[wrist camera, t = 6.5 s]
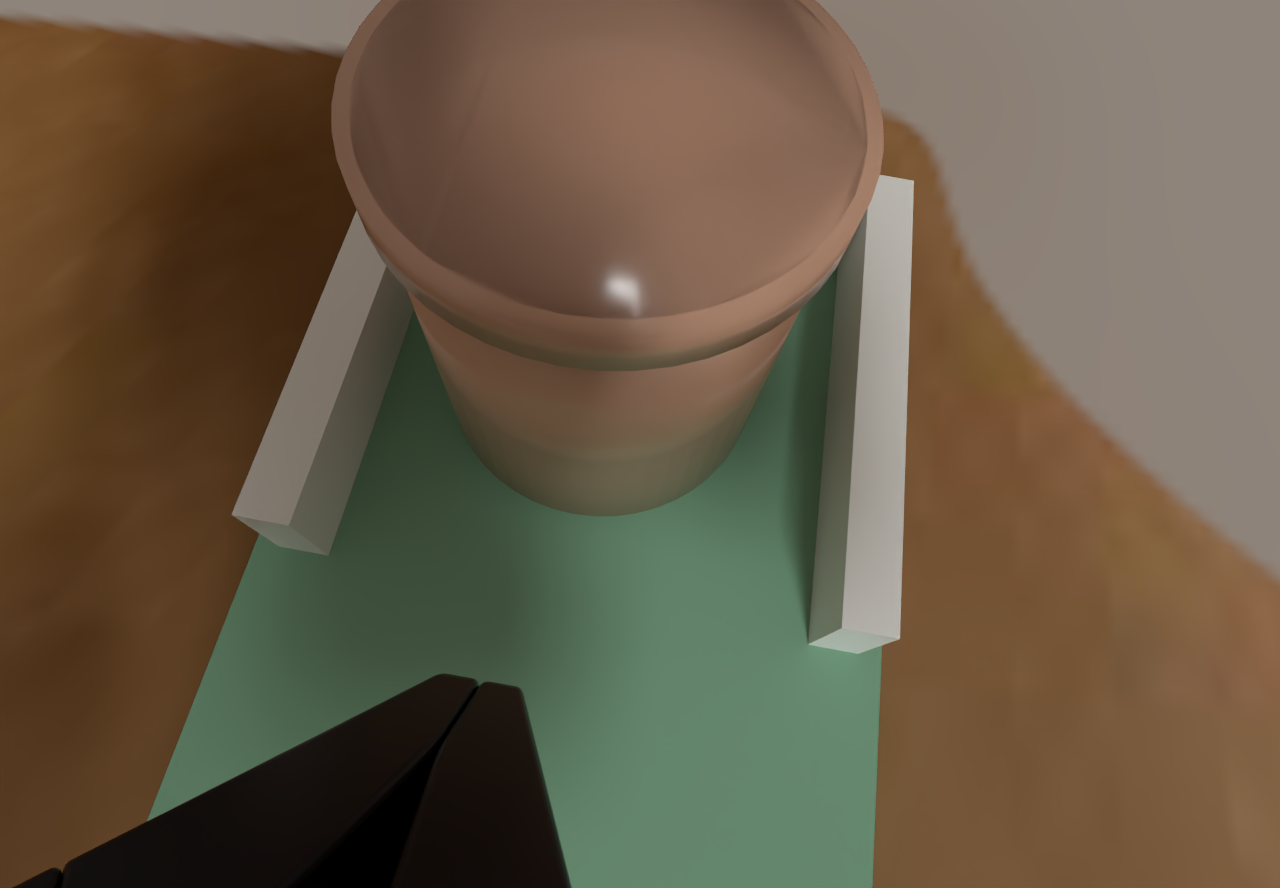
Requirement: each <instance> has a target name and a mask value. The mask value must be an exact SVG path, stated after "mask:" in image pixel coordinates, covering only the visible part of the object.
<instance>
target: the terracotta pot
mask: <svg viewBox="0 0 1280 888" xmlns="http://www.w3.org/2000/svg"><path fill="white" fill-rule="evenodd" d="M331 132H332V137H333V142H334V148H335V153H336V159H337V162H338V165H339V167H340V170H341V173H342V175H343V178H344V181H345V183H346V186H347V189H348V191H349V193H350V196H351V198H352V200H353V203H354V205H355V207H356V210H357V212H358V214H359V217H360V219H361V221H362V224H363V226H364V228H365V231H366V233H367V235H368V237H369V238H370V240H371V242H372V244H373V245H374V247H375V249H376V251H377V252H378V254H379V256H380V258H381V259H382V261H383V262H384V263H385V264H386V266H387V267H388V268H389V269H390V271H391V272H392V273H393V274H394V276H395V277H396V278H397V279H398V281H399V282H400V283H401V284H402V285H403V286H404V287H405V288H406V289H407V292H408V294H409V297H410V299H411V302H412V305H413V307H414V310H415V312H416V315H417V317H418V320H419V322H420V325H421V327H422V330H423V332H424V335H425V338H426V340H427V343H428V345H429V348H430V350H431V353H432V355H433V358H434V360H435V363H436V365H437V368H438V371H439V373H440V376H441V378H442V381H443V383H444V386H445V388H446V391H447V393H448V396H449V398H450V401H451V404H452V406H453V409H454V411H455V414H456V416H457V419H458V421H459V424H460V426H461V429H462V431H463V434H464V436H465V437H466V439H467V441H468V443H469V445H470V446H471V448H472V450H473V451H474V452H475V454H476V455H477V456H478V458H479V459H480V460H481V461H482V463H483V464H484V465H485V466H486V467H487V468H488V469H489V470H490V471H491V472H492V473H493V474H494V475H495V476H496V477H497V478H498V479H499V480H500V481H502V482H503V483H505V484H506V485H507V486H509V487H510V488H511V489H513V490H514V491H516V492H517V493H519V494H521V495H523V496H525V497H527V498H528V499H530V500H532V501H534V502H537V503H539V504H542V505H544V506H547V507H549V508H552V509H556V510H560V511H564V512H568V513H572V514H579V515H587V516H620V515H628V514H635V513H639V512H643V511H647V510H651V509H654V508H657V507H660V506H662V505H665V504H667V503H670V502H672V501H674V500H676V499H678V498H680V497H682V496H683V495H685V494H687V493H689V492H690V491H692V490H693V489H695V488H696V487H697V486H699V485H700V484H701V483H703V482H704V481H705V480H706V479H708V478H709V477H710V476H711V475H712V474H713V473H714V472H715V471H716V470H717V469H718V468H719V467H720V466H721V464H722V463H723V462H724V460H725V459H726V458H727V456H728V455H729V454H730V452H731V451H732V449H733V448H734V446H735V444H736V442H737V440H738V438H739V436H740V434H741V432H742V430H743V428H744V426H745V424H746V422H747V420H748V418H749V416H750V414H751V412H752V409H753V407H754V405H755V403H756V401H757V399H758V397H759V395H760V393H761V391H762V389H763V387H764V384H765V382H766V380H767V378H768V376H769V374H770V372H771V370H772V368H773V366H774V364H775V361H776V359H777V357H778V355H779V353H780V351H781V349H782V347H783V345H784V343H785V341H786V339H787V336H788V334H789V332H790V330H791V328H792V326H793V324H794V322H795V320H796V318H797V316H798V314H799V311H800V309H801V308H802V307H803V306H804V305H805V304H806V303H807V302H808V301H809V300H810V299H811V298H812V297H813V296H814V295H815V294H816V293H817V292H818V291H819V290H820V289H821V287H822V286H823V285H824V284H825V282H826V281H827V280H828V278H829V277H830V276H831V274H832V273H833V272H834V270H835V269H836V268H837V266H838V264H839V262H840V260H841V258H842V256H843V254H844V253H845V251H846V249H847V247H848V245H849V243H850V241H851V239H852V237H853V235H854V233H855V231H856V230H857V228H858V226H859V224H860V222H861V220H862V218H863V216H864V214H865V212H866V210H867V208H868V206H869V204H870V202H871V200H872V197H873V194H874V191H875V188H876V185H877V182H878V179H879V176H880V170H881V163H882V156H883V149H884V141H883V119H882V114H881V109H880V105H879V100H878V95H877V92H876V89H875V87H874V84H873V81H872V79H871V76H870V73H869V71H868V69H867V67H866V65H865V63H864V61H863V60H862V58H861V56H860V54H859V52H858V51H857V49H856V47H855V45H854V44H853V43H852V41H851V40H850V39H849V37H848V36H847V35H846V33H845V32H844V31H843V30H842V28H841V27H840V25H839V24H838V23H837V22H836V21H835V20H834V19H833V18H832V17H831V16H830V14H829V13H828V12H827V11H826V10H825V9H824V8H823V7H822V6H821V5H820V4H819V3H818V2H817V1H815V0H381V1H380V2H379V3H378V4H377V5H376V6H375V8H374V9H373V10H372V11H371V13H370V14H369V15H368V16H367V18H366V19H365V20H364V21H363V23H362V24H361V25H360V26H359V28H358V30H357V32H356V33H355V35H354V37H353V39H352V41H351V42H350V44H349V46H348V48H347V49H346V51H345V54H344V57H343V59H342V62H341V65H340V68H339V70H338V73H337V76H336V81H335V86H334V92H333V97H332V103H331Z"/></svg>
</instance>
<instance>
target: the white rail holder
mask: <svg viewBox="0 0 1280 888" xmlns="http://www.w3.org/2000/svg"><path fill="white" fill-rule="evenodd" d="M913 192H914V181H912V180H906V179H900V178H895V177H889V176H884V175H880V176H879V179H878V182H877V185H876V188H875V191H874V194H873V197H872V200H871V202H870V204H869V206H868V208H867V210H866V212H865V214H864V216H863V218H862V220H861V222H860V224H859V226H858V228H857V230H856V231H855V233H854V235H853V237H852V239H851V241H850V243H849V245H848V247H847V249H846V251H845V253H844V254H843V256H842V258H841V260H840V262H839V264H838V271H837V283H836V296H835V309H834V321H833V334H832V347H831V360H830V372H829V385H828V398H827V410H826V423H825V436H824V448H823V461H822V474H821V486H820V499H819V512H818V524H817V537H816V550H815V562H814V575H813V588H812V600H811V613H810V626H809V638H808V645H813V646H818V647H824V648H829V649H835V650H840V651H845V652H851V653H856V654H859V653H862V652H865V651H868V650H870V649H873V648H876V647H879V646H882V645H884V644H887V643H890V642H893V641H895V640H898V639H900V616H901V584H902V551H903V519H904V486H905V453H906V421H907V388H908V355H909V323H910V290H911V257H912V225H913ZM413 311H414V307H413V305H412V302H411V299H410V297H409V294H408V292H407V289H406V288H405V287H404V286H403V285H402V284H401V283H400V282H399V281H398V279H397V278H396V277H395V276H394V274H393V273H392V272H391V271H390V269H389V268H388V267H387V266H386V264H385V263H384V262H383V261H382V259H381V258H380V256H379V254H378V252H377V251H376V249H375V247H374V245H373V244H372V242H371V240H370V238H369V237H368V235H367V233H366V231H365V228H364V226H363V224H362V221H361V219H360V217H359V214H358V212H357V210H356V213H355V215H354V217H353V220H352V222H351V225H350V227H349V230H348V232H347V234H346V237H345V239H344V242H343V244H342V247H341V249H340V252H339V254H338V256H337V259H336V261H335V264H334V266H333V269H332V271H331V273H330V276H329V278H328V281H327V283H326V286H325V288H324V291H323V293H322V295H321V298H320V300H319V303H318V305H317V308H316V310H315V312H314V315H313V317H312V320H311V322H310V325H309V327H308V329H307V332H306V334H305V337H304V339H303V342H302V344H301V347H300V349H299V351H298V354H297V356H296V359H295V361H294V364H293V366H292V368H291V371H290V373H289V376H288V378H287V381H286V383H285V386H284V388H283V390H282V393H281V395H280V398H279V400H278V403H277V405H276V407H275V410H274V412H273V415H272V417H271V420H270V422H269V425H268V427H267V429H266V432H265V434H264V437H263V439H262V442H261V444H260V446H259V449H258V451H257V454H256V456H255V459H254V461H253V463H252V466H251V468H250V471H249V473H248V476H247V478H246V481H245V483H244V485H243V488H242V490H241V493H240V495H239V498H238V500H237V502H236V505H235V507H234V510H233V512H232V516H234V517H235V518H237V519H238V520H240V521H241V522H243V523H244V524H246V525H247V526H249V527H250V528H252V529H253V530H255V531H256V532H258V533H259V534H261V535H262V536H264V537H265V538H267V539H268V540H270V541H271V542H273V543H275V544H276V545H278V546H280V547H285V548H291V549H296V550H301V551H307V552H312V553H317V554H323V555H328V556H329V553H330V550H331V547H332V544H333V541H334V538H335V536H336V533H337V530H338V527H339V524H340V521H341V518H342V515H343V513H344V510H345V507H346V504H347V501H348V498H349V495H350V492H351V490H352V487H353V484H354V481H355V478H356V475H357V472H358V469H359V466H360V464H361V461H362V458H363V455H364V452H365V449H366V446H367V443H368V441H369V438H370V435H371V432H372V429H373V426H374V423H375V420H376V418H377V415H378V412H379V409H380V406H381V403H382V400H383V397H384V395H385V392H386V389H387V386H388V383H389V380H390V377H391V374H392V372H393V369H394V366H395V363H396V360H397V357H398V354H399V351H400V349H401V346H402V343H403V340H404V337H405V334H406V331H407V328H408V326H409V323H410V320H411V317H412V314H413Z"/></svg>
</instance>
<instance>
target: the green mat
mask: <svg viewBox="0 0 1280 888" xmlns="http://www.w3.org/2000/svg"><path fill="white" fill-rule="evenodd" d="M837 271H838V266H837V268H836V269H835V270H834V272H833V273H832V274H831V276H830V277H829V278H828V280H827V281H826V282H825V284H824V285H823V286H822V287H821V289H820V290H819V291H818V292H817V293H816V294H815V295H814V296H813V297H812V298H811V299H810V300H809V301H808V302H807V303H806V304H805V305H804V306H803V307H802V308H801V309H800V311H799V314H798V316H797V318H796V320H795V322H794V324H793V326H792V328H791V330H790V332H789V334H788V336H787V339H786V341H785V343H784V345H783V347H782V349H781V351H780V353H779V355H778V357H777V359H776V361H775V364H774V366H773V368H772V370H771V372H770V374H769V376H768V378H767V380H766V382H765V384H764V387H763V389H762V391H761V393H760V395H759V397H758V399H757V401H756V403H755V405H754V407H753V409H752V412H751V414H750V416H749V418H748V420H747V422H746V424H745V426H744V428H743V430H742V432H741V434H740V436H739V438H738V440H737V442H736V444H735V446H734V448H733V449H732V451H731V452H730V454H729V455H728V456H727V458H726V459H725V460H724V462H723V463H722V464H721V466H720V467H719V468H718V469H717V470H716V471H715V472H714V473H713V474H712V475H711V476H710V477H709V478H708V479H706V480H705V481H704V482H703V483H701V484H700V485H699V486H697V487H696V488H695V489H693V490H692V491H690V492H689V493H687V494H685V495H683V496H682V497H680V498H678V499H676V500H674V501H672V502H670V503H667V504H665V505H662V506H660V507H657V508H654V509H651V510H647V511H643V512H639V513H635V514H628V515H620V516H587V515H579V514H572V513H568V512H564V511H560V510H556V509H552V508H549V507H547V506H544V505H542V504H539V503H537V502H534V501H532V500H530V499H528V498H527V497H525V496H523V495H521V494H519V493H517V492H516V491H514V490H513V489H511V488H510V487H509V486H507V485H506V484H505V483H503V482H502V481H500V480H499V479H498V478H497V477H496V476H495V475H494V474H493V473H492V472H491V471H490V470H489V469H488V468H487V467H486V466H485V465H484V464H483V463H482V461H481V460H480V459H479V458H478V456H477V455H476V454H475V452H474V451H473V450H472V448H471V446H470V445H469V443H468V441H467V439H466V437H465V436H464V434H463V431H462V429H461V426H460V424H459V421H458V419H457V416H456V414H455V411H454V409H453V406H452V404H451V401H450V398H449V396H448V393H447V391H446V388H445V386H444V383H443V381H442V378H441V376H440V373H439V371H438V368H437V365H436V363H435V360H434V358H433V355H432V353H431V350H430V348H429V345H428V343H427V340H426V338H425V335H424V332H423V330H422V327H421V325H420V322H419V320H418V317H417V315H416V312H415V310H414V311H413V314H412V317H411V320H410V323H409V326H408V328H407V331H406V334H405V337H404V340H403V343H402V346H401V349H400V351H399V354H398V357H397V360H396V363H395V366H394V369H393V372H392V374H391V377H390V380H389V383H388V386H387V389H386V392H385V395H384V397H383V400H382V403H381V406H380V409H379V412H378V415H377V418H376V420H375V423H374V426H373V429H372V432H371V435H370V438H369V441H368V443H367V446H366V449H365V452H364V455H363V458H362V461H361V464H360V466H359V469H358V472H357V475H356V478H355V481H354V484H353V487H352V490H351V492H350V495H349V498H348V501H347V504H346V507H345V510H344V513H343V515H342V518H341V521H340V524H339V527H338V530H337V533H336V536H335V538H334V541H333V544H332V547H331V550H330V553H329V556H328V555H323V554H317V553H312V552H307V551H301V550H296V549H291V548H285V547H280V546H278V545H276V544H275V543H273V542H271V541H270V540H268V539H267V538H265V537H264V536H262V535H261V534H259V536H258V538H257V541H256V543H255V546H254V548H253V551H252V554H251V556H250V559H249V561H248V564H247V566H246V569H245V571H244V574H243V577H242V579H241V582H240V584H239V587H238V589H237V592H236V594H235V597H234V600H233V602H232V605H231V607H230V610H229V612H228V615H227V618H226V620H225V623H224V625H223V628H222V630H221V633H220V635H219V638H218V641H217V643H216V646H215V648H214V651H213V653H212V656H211V659H210V661H209V664H208V666H207V669H206V671H205V674H204V676H203V679H202V682H201V684H200V687H199V689H198V692H197V694H196V697H195V699H194V702H193V705H192V707H191V710H190V712H189V715H188V717H187V720H186V723H185V725H184V728H183V730H182V733H181V735H180V738H179V740H178V743H177V746H176V748H175V751H174V753H173V756H172V758H171V761H170V763H169V766H168V769H167V771H166V774H165V776H164V779H163V781H162V784H161V787H160V789H159V792H158V794H157V797H156V799H155V802H154V804H153V807H152V810H151V812H150V815H149V817H148V820H147V821H149V820H151V819H153V818H155V817H157V816H159V815H161V814H163V813H165V812H167V811H169V810H171V809H173V808H175V807H177V806H179V805H181V804H183V803H185V802H187V801H188V800H190V799H192V798H194V797H196V796H198V795H200V794H202V793H204V792H206V791H208V790H210V789H212V788H214V787H216V786H218V785H220V784H222V783H224V782H226V781H228V780H230V779H232V778H234V777H236V776H238V775H240V774H242V773H244V772H246V771H248V770H250V769H252V768H254V767H256V766H257V765H259V764H261V763H263V762H265V761H267V760H269V759H271V758H273V757H275V756H277V755H279V754H281V753H283V752H285V751H287V750H289V749H291V748H293V747H295V746H297V745H299V744H301V743H303V742H305V741H307V740H309V739H311V738H313V737H315V736H317V735H319V734H321V733H323V732H325V731H327V730H328V729H330V728H332V727H334V726H336V725H338V724H340V723H342V722H344V721H346V720H348V719H350V718H352V717H354V716H356V715H358V714H360V713H362V712H364V711H366V710H368V709H370V708H372V707H374V706H376V705H378V704H380V703H382V702H384V701H386V700H388V699H390V698H392V697H394V696H396V695H397V694H399V693H401V692H403V691H405V690H407V689H409V688H411V687H413V686H415V685H417V684H419V683H421V682H423V681H425V680H427V679H429V678H431V677H433V676H435V675H438V674H441V673H446V674H452V675H457V676H462V677H468V678H473V679H476V680H477V681H478V682H479V685H481V684H482V683H483V682H488V681H490V682H495V683H501V684H506V685H512V686H517V687H519V688H521V689H522V691H523V693H524V697H525V701H526V705H527V709H528V713H529V717H530V721H531V725H532V729H533V733H534V737H535V741H536V746H537V750H538V754H539V758H540V762H541V766H542V770H543V774H544V778H545V782H546V786H547V790H548V794H549V798H550V802H551V806H552V810H553V814H554V818H555V822H556V826H557V830H558V834H559V838H560V842H561V846H562V850H563V854H564V858H565V862H566V866H567V870H568V874H569V878H570V882H571V886H572V888H872V880H873V855H874V830H875V805H876V780H877V755H878V730H879V705H880V680H881V655H882V646H879V647H876V648H873V649H870V650H868V651H865V652H862V653H859V654H856V653H851V652H845V651H840V650H835V649H829V648H824V647H818V646H813V645H808V638H809V626H810V613H811V600H812V588H813V575H814V562H815V550H816V537H817V524H818V512H819V499H820V486H821V474H822V461H823V448H824V436H825V423H826V410H827V398H828V385H829V372H830V360H831V347H832V334H833V321H834V309H835V296H836V283H837Z"/></svg>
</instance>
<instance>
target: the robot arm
mask: <svg viewBox="0 0 1280 888" xmlns="http://www.w3.org/2000/svg"><path fill="white" fill-rule="evenodd" d="M13 888H572V886H571V882H570V878H569V874H568V870H567V866H566V862H565V858H564V854H563V850H562V846H561V842H560V838H559V834H558V830H557V826H556V822H555V818H554V814H553V810H552V806H551V802H550V798H549V794H548V790H547V786H546V782H545V778H544V774H543V770H542V766H541V762H540V758H539V754H538V750H537V746H536V741H535V737H534V733H533V729H532V725H531V721H530V717H529V713H528V709H527V705H526V701H525V697H524V693H523V691H522V689H521V688H519V687H517V686H512V685H506V684H501V683H495V682H490V681H488V682H483V683H482V684H481V685H479V682H478V681H477V680H476V679H473V678H468V677H462V676H457V675H452V674H446V673H441V674H438V675H435V676H433V677H431V678H429V679H427V680H425V681H423V682H421V683H419V684H417V685H415V686H413V687H411V688H409V689H407V690H405V691H403V692H401V693H399V694H397V695H396V696H394V697H392V698H390V699H388V700H386V701H384V702H382V703H380V704H378V705H376V706H374V707H372V708H370V709H368V710H366V711H364V712H362V713H360V714H358V715H356V716H354V717H352V718H350V719H348V720H346V721H344V722H342V723H340V724H338V725H336V726H334V727H332V728H330V729H328V730H327V731H325V732H323V733H321V734H319V735H317V736H315V737H313V738H311V739H309V740H307V741H305V742H303V743H301V744H299V745H297V746H295V747H293V748H291V749H289V750H287V751H285V752H283V753H281V754H279V755H277V756H275V757H273V758H271V759H269V760H267V761H265V762H263V763H261V764H259V765H257V766H256V767H254V768H252V769H250V770H248V771H246V772H244V773H242V774H240V775H238V776H236V777H234V778H232V779H230V780H228V781H226V782H224V783H222V784H220V785H218V786H216V787H214V788H212V789H210V790H208V791H206V792H204V793H202V794H200V795H198V796H196V797H194V798H192V799H190V800H188V801H187V802H185V803H183V804H181V805H179V806H177V807H175V808H173V809H171V810H169V811H167V812H165V813H163V814H161V815H159V816H157V817H155V818H153V819H151V820H149V821H147V822H145V823H143V824H141V825H139V826H137V827H135V828H133V829H131V830H129V831H127V832H125V833H123V834H121V835H119V836H117V837H116V838H114V839H112V840H110V841H108V842H106V843H104V844H102V845H100V846H98V847H96V848H94V849H92V850H90V851H88V852H86V853H84V854H82V855H80V856H78V857H76V858H74V859H72V860H70V861H69V862H68V863H67V864H66V865H65V867H64V869H63V873H62V872H61V870H60V869H58V868H51V869H48V870H46V871H44V872H42V873H40V874H38V875H36V876H34V877H32V878H31V879H29V880H27V881H25V882H23V883H21V884H19V885H17V886H15V887H13Z"/></svg>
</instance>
